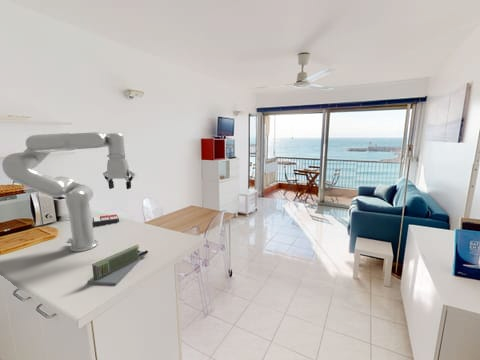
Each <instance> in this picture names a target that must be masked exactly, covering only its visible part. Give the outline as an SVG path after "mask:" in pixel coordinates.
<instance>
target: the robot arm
mask: <svg viewBox="0 0 480 360" xmlns="http://www.w3.org/2000/svg"><path fill="white" fill-rule="evenodd" d="M25 147H26V149H25V150H24V151H23V152H15V153H11V154H8V155H7V156H5V157H4V158H3V159H2V161H1V162H2V163H1V167H2V170H3V173H4V174H5V176H6V177H8V178H9V179H10V180H11V181H13V182H15V183H17V184H19V185H21V186H24V187H26V188H29V189H32V190H34V191H36V192H39V193H41V194H43V195H46V196H49V197H51V198H60V197H62V196H65V205H66V207H67V212H68V216H69V222H70V223H69V224H70V231H71V237H68V239H67V241H66V243H67V244H70V246H69V250H70V251H72V252H74V253H75V252H76V253H77V252H84V251H85V252H86V251H88V250H92V249H93V248H96V247H97V246H98V245H99V241H98V240H97V239H95V233H94V226H93V217H92V211H91V206H90V201H91V200H92V198H93V197H94V191H93V189H92V188H91V187H90V186H88V185H86V184H83V183H81V182H80V181H77V180H74V179H72V178H70V177H67V176H56V177H52V176H50V175H47V174H45V173H43V172H40V171H36V170H34V168H36V167H38V166H39V165H40V164H41V163H42V162H43V161H44V160H45V159H46V158H47V157H48V156H49V155H50V154H51V153H56V152H68V151H75V150H86V149H98V148H99V149H100V148H105V147H108V154H107V155H106V157H107V158H108V159H107V163H106V171H105V172H103V173H102V175H103V178H104V179H105V180H106V182H107V183H108V184H107V185H108V188H109V189H110V190H112V189H114V188H115V186H114V185H115V184H114V180H115V179H118V180H119V179H123V180H124V179H125V185H126V190H129V189H131V188H132V180H133V179H134V178H135V174H136V173H134V172H133V171H131V170H130V169H129V163H128V160H127V159H126V150H125V138H124V135H123V133H120V132H109V133H104V132H97V131H96V132H93V131H92V132H77V133H69V132H68V133H67V132H65V133H62V132H61V133H46V134H33V135H30V136H28V137H27V138H26V139H25Z"/></svg>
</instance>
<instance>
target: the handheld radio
mask: <svg viewBox="0 0 480 360" xmlns="http://www.w3.org/2000/svg"><path fill="white" fill-rule="evenodd" d="M139 246H140V244H135V245H133V246H130V247H128V248H126V249H124V250H121V251H119V252H116V253H115V254H112V255H110V256H107V257H105V258H103V259H100V260H98V261H96V262H94V263H91V264H92V265H91V266H92V277H94V279H95V280H97V279H99V278H101V277H103V276H105V275H108V274H110V273H112V272H114V271H116V270H118V269H120V268H122V267H124V266H126V265H128V264H130V263H132V262H134V261H136V260H138V259H139V257H140V256H142V255H144V254H146V253H147V254H149V251H148V250H143V251H144V252H142V253H140V254H138V253H139V252H140V251H141V250H139V249H140V247H139ZM147 254H146V255H147Z"/></svg>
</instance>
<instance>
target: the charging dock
mask: <svg viewBox="0 0 480 360" xmlns="http://www.w3.org/2000/svg"><path fill="white" fill-rule="evenodd" d="M139 251H140V252H139V253H138V254H140V253H142V252H144V251H145V250H143V251H141V250H139ZM146 255H148V253H146V254H144V255H142V256H140V257H139V259H138V260H136V261H134V262H132V263H130V264H128V265H126V266H124V267H122V268H120V269H118V270H116V271H114V272H112V273H110V274H108V275H105V276H103V277H101V278H99V279H97V280H95V279H94V277H93V276H92V277H90V278H89V279H88V280H87V282H86V283H87V284H88V285H107V286H108V285H109V286H110V285H112V286H117V285H118V284H119V283H120V282H121V281H122V280H123V279H124V278H125V277H126V276H127V275H128V274H129V273H130V272H131V271H132V269H134V267H135V266H137V265H138V263H140V261H141V260H143V258H144V257H145V256H146Z"/></svg>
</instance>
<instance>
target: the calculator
mask: <svg viewBox="0 0 480 360" xmlns="http://www.w3.org/2000/svg"><path fill="white" fill-rule="evenodd" d="M117 222H119V223H120V218H119V215H118V214H109V215H100V216H94V217H92V224H93V228H96V227H95V226H97V227H101V226H100V225H102V226H106V224H108V225H112V224H111V223H114V224H118V223H117Z"/></svg>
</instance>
